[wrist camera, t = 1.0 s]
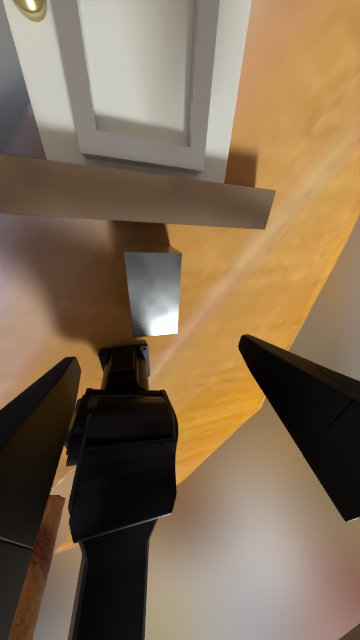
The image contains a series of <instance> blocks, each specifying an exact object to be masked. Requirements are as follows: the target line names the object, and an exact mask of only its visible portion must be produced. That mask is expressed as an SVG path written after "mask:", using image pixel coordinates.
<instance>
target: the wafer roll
mask: <svg viewBox="0 0 360 640" xmlns="http://www.w3.org/2000/svg"><path fill="white" fill-rule="evenodd" d="M64 503H65V498H63V497H61V496H60V495H49V498H48V501H47V505H46V508H45V512H44V515H43V519H42V522H41V526H40V529H39V532H38V536H37V539H36V543H35V546H34V548H33V554H32V557H31V561H30V564H29V568H28V571H27V574H26V578H25V581H24V585H23V588H22V592H21V595H20V599H19V602H18V606H17V609H16V612H15V616H14V619H13V623H12V626H11V630H10V633H9V637H8V640H32V639H33V634H34V631H35V627H36V623H37V620H38V615H39V610H40V605H41V601H42V597H43V593H44V589H45V585H46V581H47V577H48V573H49V569H50V565H51V561H52V555H53V550H54V546H55V542H56V537H57V532H58V527H59V524H60V520H61V514H62V509H63V506H64Z"/></svg>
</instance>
